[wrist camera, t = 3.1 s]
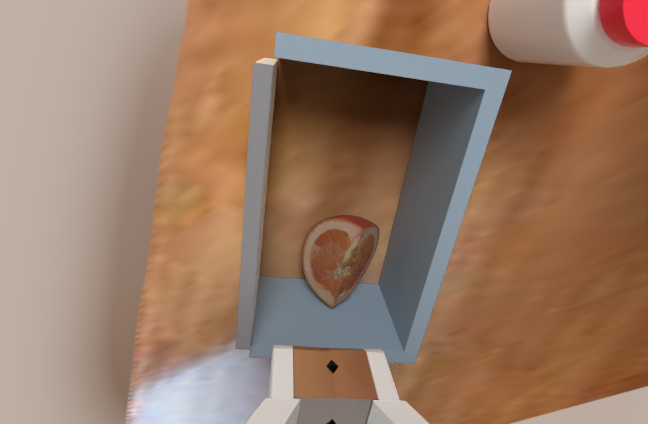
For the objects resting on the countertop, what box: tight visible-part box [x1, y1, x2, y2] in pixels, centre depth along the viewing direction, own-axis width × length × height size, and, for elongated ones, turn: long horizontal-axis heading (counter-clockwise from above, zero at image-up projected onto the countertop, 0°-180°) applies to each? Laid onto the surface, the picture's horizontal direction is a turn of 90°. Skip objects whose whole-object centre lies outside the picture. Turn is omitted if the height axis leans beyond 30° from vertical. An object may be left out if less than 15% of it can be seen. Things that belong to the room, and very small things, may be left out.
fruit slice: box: [302, 215, 379, 309], centre depth 32 cm, size 8×7×5 cm
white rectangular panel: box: [236, 58, 278, 350], centre depth 27 cm, size 19×1×10 cm, turn 172°
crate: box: [250, 32, 512, 364], centre depth 28 cm, size 22×13×9 cm, turn 172°
